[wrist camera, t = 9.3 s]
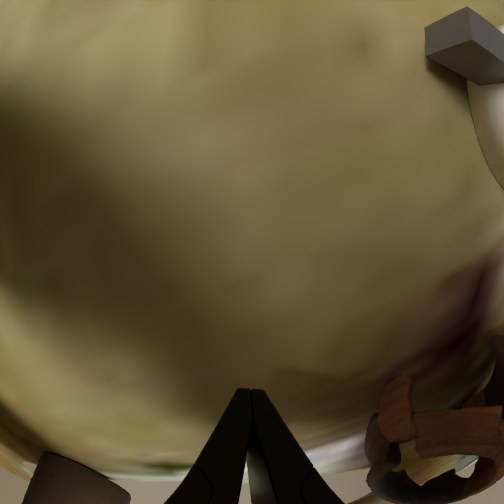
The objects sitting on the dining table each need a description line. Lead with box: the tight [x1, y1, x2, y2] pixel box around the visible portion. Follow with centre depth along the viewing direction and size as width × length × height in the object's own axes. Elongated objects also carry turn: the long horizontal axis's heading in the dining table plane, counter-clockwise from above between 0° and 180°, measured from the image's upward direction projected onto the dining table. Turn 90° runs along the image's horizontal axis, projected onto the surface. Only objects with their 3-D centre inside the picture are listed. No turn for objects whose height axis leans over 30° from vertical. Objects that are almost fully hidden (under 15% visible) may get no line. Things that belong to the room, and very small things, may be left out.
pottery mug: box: [365, 335, 504, 504], centre depth 9 cm, size 12×10×8 cm
